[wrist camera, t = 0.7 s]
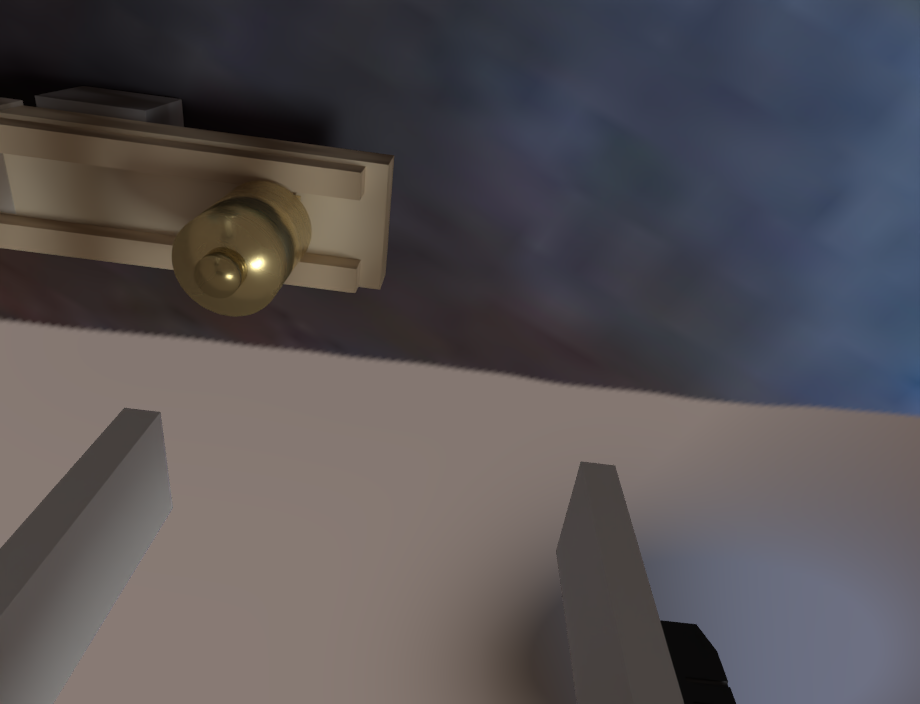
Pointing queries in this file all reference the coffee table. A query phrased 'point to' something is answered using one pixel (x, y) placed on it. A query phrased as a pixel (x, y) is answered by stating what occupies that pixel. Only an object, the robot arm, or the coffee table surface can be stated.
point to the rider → (242, 248)
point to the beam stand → (175, 184)
